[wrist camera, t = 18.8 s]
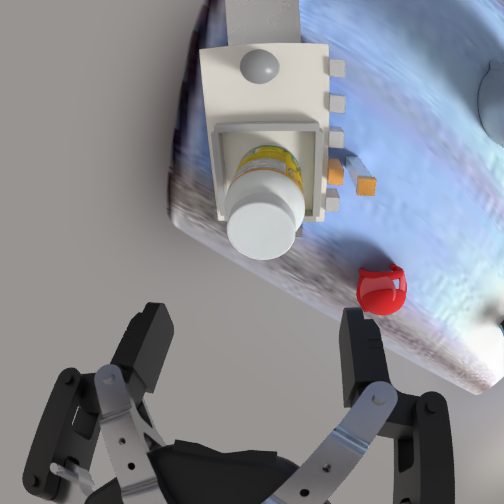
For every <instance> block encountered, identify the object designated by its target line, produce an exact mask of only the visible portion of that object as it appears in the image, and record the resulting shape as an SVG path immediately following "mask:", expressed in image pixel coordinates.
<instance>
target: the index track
mask: <svg viewBox="0 0 504 504" xmlns="http://www.w3.org/2000/svg"><path fill="white" fill-rule="evenodd" d="M225 8H226V22H227V35H228V46H233V45H246V44H264V43H301V30H300V14H299V0H225ZM346 169H347V171H348V173H349V175H350V177H351V179H352V181H353V183H354V185H355V187H356V193H357V195H364V196H374V194H375V187H376V178H375V177H372V175H371V174H370V172H369V171H368V169H367V168H366V167H365V165H364V164H363V162H362V161H361V159H360V158H359V156H346ZM295 237H302V223H301V225H300V227H299V228H298V230H297V231H296V232H295Z"/></svg>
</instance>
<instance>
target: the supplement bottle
mask: <svg viewBox="0 0 504 504" xmlns="http://www.w3.org/2000/svg"><path fill="white" fill-rule="evenodd" d="M224 208H225V214H226V218H227V220H228V223H227V235H228V238H229V240H230V242H231V244H232V245H233V247H234V248H235V249H236V250H237V251H239V252H240V253H241V254H243V255H245V256H247V257H250V258H253V259H258V260H268V259H273V258H276V257H279V256H281V255H282V254H284V253H285V252H286V251H288V250H289V248H290V247H291V245H292V244H293V242H294V239H295V232H296V231H297V230H298V228H299V227H300V225H301V223H302V221H303V218H304V214H305V199H304V191H303V181H302V172H301V168H300V165H299V162H298V161H297V159H296V158H295V156H294V155H293V154H292V153H291V152H290V151H289V150H288V149H286V148H285V147H282V146H280V145H276V144H263V145H259V146H256V147H254V148H252V149H251V150H249V151H248V152H247V153H246V154H245V155H244V157H243V158H242V160H241V162H240V164H239V166H238V168H237V171H236V173H235V175H234V177H233V180H232V182H231V184H230V186H229V189H228V191H227V194H226V197H225V204H224Z"/></svg>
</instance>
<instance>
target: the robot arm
mask: <svg viewBox="0 0 504 504" xmlns="http://www.w3.org/2000/svg"><path fill="white" fill-rule="evenodd" d="M478 107H479V114H480V119H481V121H482V124H483V127H484V129H485V131H486V133H487V134H488V135H489V137H490V138H491V139H492V140H493V141H494V142H496V143H497V144H499V145H500V146H502V147H503V148H504V63H501V62H495V61H490V70H489V71H488V73H487V74H486V75H485V77H484V78H483V81H482V83H481V86H480V90H479V97H478ZM173 335H174V326H173V323H172V320H171V318H170V316H169V313H168V311H167V308H166V306H165V304H163V303H153V302H148V303H147V304H146V306H145V308H144V310H143V312H142V313H140V312H139V313H137V314H136V315H135V316H134V317H133V318H132V319H131V321H130V323H129V325H128V327H127V330H126V331H125V333H124V335H123V338H122V339H121V342H120V343H119V345H118V348H117V350H116V352H115V354H114V356H113V358H112V361H111V363H110V364H107V365H104V366H102V367H101V368H100V369H99V370H98V371H97V372H96V373H89V374H81V373H80V372H79V371H78V370H77V369H75V368H67V369H65V370H63V371H62V372H61V373H60V375H59V376H58V379H57V381H56V383H55V385H54V388H53V390H52V392H51V395H50V397H49V400H48V402H47V405H46V407H45V410H44V412H43V415H42V418H41V420H40V423H39V426H38V428H37V431H36V434H35V438H34V440H33V443H32V446H31V449H30V452H29V456H28V459H27V462H26V465H25V469H24V473H23V478H22V479H23V485H24V487H25V489H26V490H27V491H28V492H29V493H30V494H32V495H34V496H37V497H40V498H42V499H44V500H46V501H49V502H52V503H55V504H331V503H330V502H329V501H328V500H327V499H328V498H329V497H330V496H331V495H332V494H333V492H334V491H335V490H336V489H337V488H338V487H339V486H340V484H341V483H342V482H343V481H344V480H345V478H346V477H347V476H348V475H349V473H350V472H351V471H352V470H353V468H354V467H355V466H356V464H357V463H358V462H359V461H360V459H361V458H362V457H363V455H364V454H365V452H366V451H367V449H368V447H369V445H370V444H371V442H372V441H373V439H374V438H375V436H376V435H379V436H384V437H388V438H394V491H393V492H394V493H393V504H455V478H454V460H453V459H454V458H453V446H452V436H451V428H450V420H449V413H448V407H447V402H446V400H445V398H444V397H443V396H442V395H441V394H439V393H437V392H433V391H432V392H431V391H430V392H426V393H424V394H423V395H421V396H420V397H419V396H414V395H409V394H404V393H401V392H399V391H398V390H396V389H395V388H394V387H393V386H392V384H391V382H390V379H389V374H388V369H387V363H386V358H385V353H384V349H383V343H382V340H381V339H382V338H381V333H380V329H379V327H378V326H377V324H376V323H375V322H374V320H373V319H364V316H363V311H362V308H361V307H353V308H344V310H343V315H342V320H341V326H340V331H339V347H340V357H341V370H342V384H343V399H344V408H346V407H351V409H350V411H349V412H348V413H347V415H346V416H345V417H344V418H343V420H342V421H341V422H340V424H339V425H338V426H337V427H336V428H335V429H334V430H333V431H332V432H331V433H330V434H329V435H328V436H327V438H326V439H325V440H324V441H323V442H322V443H321V444H320V446H319V447H318V448H317V449H316V450H315V451H314V453H313V454H312V455H311V456H310V457H309V458H308V459H307V460H306V461H305V462H304V463H303V464H302V466H301V467H299V466H298V465H296V464H295V463H293V462H291V461H290V460H288V459H285V458H283V457H279V456H277V452H273V451H257V450H248V451H241V452H232V453H221V452H218V451H216V450H213V449H211V448H208V447H205V446H203V445H201V444H198V443H192V442H186V441H181V440H175V443H174V444H172V445H166V444H165V442H164V441H163V439H162V437H161V436H160V435H159V433H158V431H157V429H156V427H155V425H154V423H153V420H152V418H151V415H150V413H149V411H148V408H147V405H146V403H145V400H144V398H143V396H144V393H145V392H148V393H153V392H154V389H155V386H156V384H157V381H158V378H159V374H160V372H161V369H162V366H163V363H164V360H165V358H166V355H167V352H168V349H169V346H170V343H171V341H172V338H173ZM78 406H79V408H78V411H77V414H76V417H75V420H74V423H73V425H72V421H73V419H74V415H75V413H76V410H77V407H78ZM100 430H101V431H102V435H103V438H104V441H105V444H106V448H107V450H108V454H109V457H110V460H111V462H112V466H113V468H114V471H115V474H116V476H117V477H115V478H114V479H113V480H111V481H110V482H108V483H106V484H105V485H103V486H102V487H100V488H99V489H97V490H96V491H94V492H93V490H92V488H93V487H94V481H93V480H92V477H91V475H90V473H89V469H90V465H91V461H92V458H93V454H94V450H95V447H96V443H97V440H98V436H99V433H100Z"/></svg>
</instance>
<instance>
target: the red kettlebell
mask: <svg viewBox="0 0 504 504" xmlns="http://www.w3.org/2000/svg"><path fill="white" fill-rule="evenodd" d="M390 268H391V270H392V271H393V272H370V271H366V270H364V269H362V268H361V269H359V275H360V278H359V282H358V287H357V293H356V295H357V300H358V302H359V304H360V306H361V307H362V309H363V311H364V312H368V311H369V312H371V313H373V314H376V315H389V314H392V313H394V312H396V311H397V310H399V309H400V308H401V307H402V305H403V304H404V302H405V299H406V291H407V284H406V279H405V274H404V271H403V269H402V268H400V267H398V266H396V265H395V264H392V265H391V267H390ZM394 279H399V281H400V282H399V289H396V288H395V285H394V283H393V281H392V280H394Z"/></svg>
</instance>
